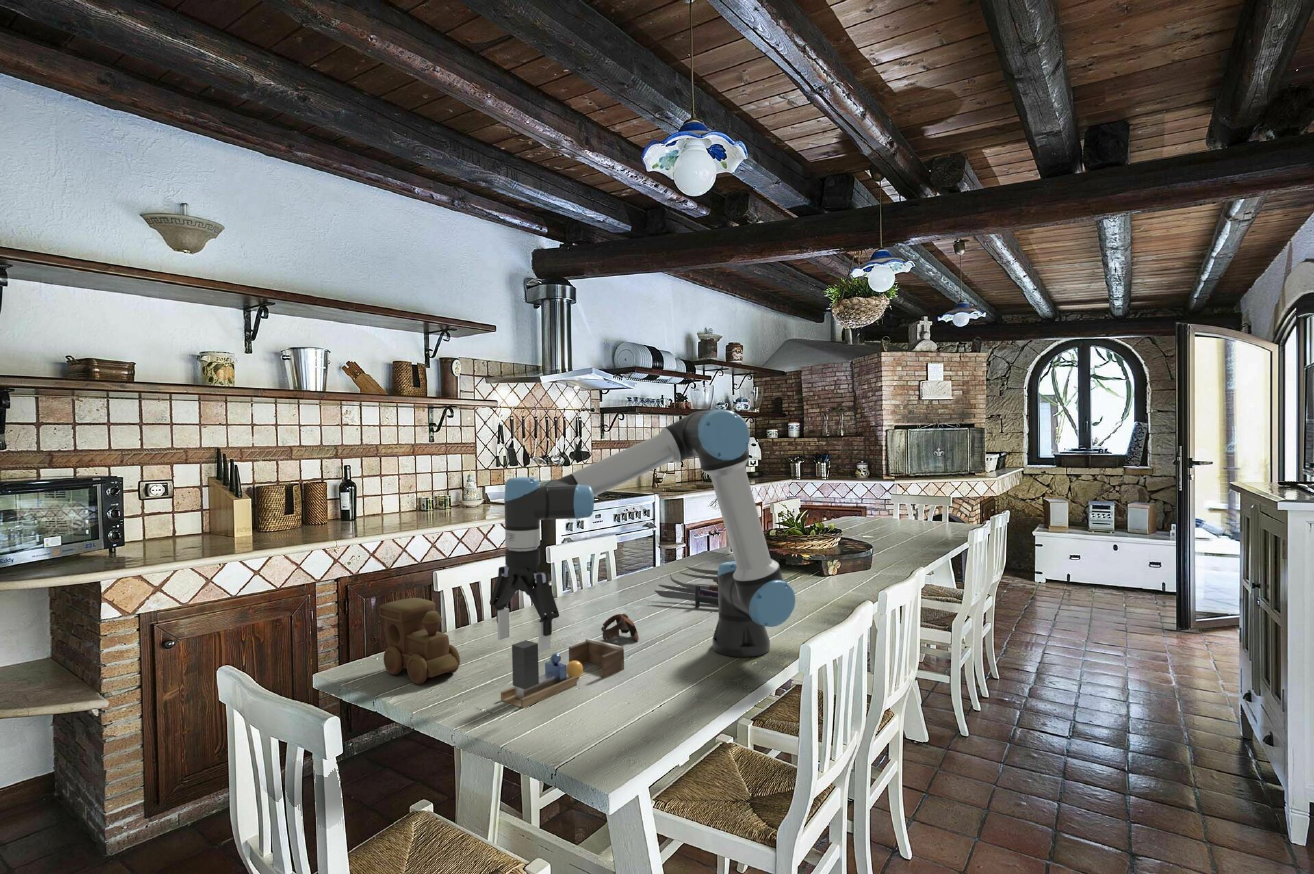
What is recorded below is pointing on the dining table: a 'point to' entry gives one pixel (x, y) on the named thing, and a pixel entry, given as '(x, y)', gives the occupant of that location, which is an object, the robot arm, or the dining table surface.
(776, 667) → the dining table surface
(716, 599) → the knife set
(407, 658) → the wooden toy train
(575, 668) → the ball
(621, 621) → the brown curved piece
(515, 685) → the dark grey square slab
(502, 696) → the track
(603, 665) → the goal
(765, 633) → the robot arm
